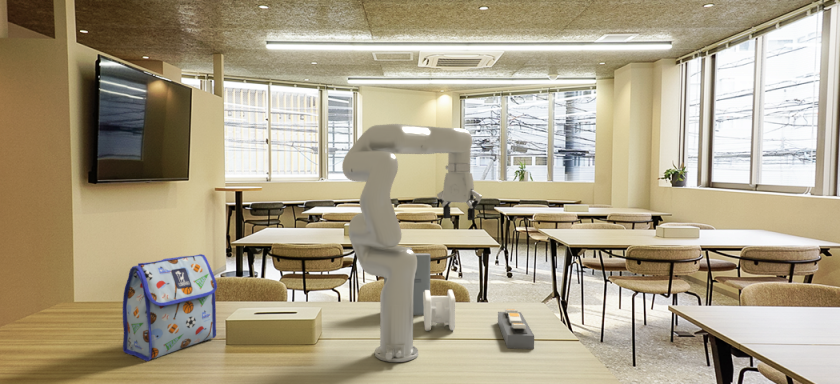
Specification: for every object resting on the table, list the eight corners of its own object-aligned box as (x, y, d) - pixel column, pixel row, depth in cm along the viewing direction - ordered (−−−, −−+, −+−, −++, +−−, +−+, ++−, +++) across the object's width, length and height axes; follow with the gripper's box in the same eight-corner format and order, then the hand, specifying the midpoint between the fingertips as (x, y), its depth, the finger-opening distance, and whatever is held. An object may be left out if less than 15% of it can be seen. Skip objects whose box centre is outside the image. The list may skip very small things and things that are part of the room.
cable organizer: (455, 333, 160) (456, 298, 159) (423, 333, 160) (423, 298, 159) (451, 320, 175) (452, 288, 174) (422, 320, 175) (423, 288, 174)
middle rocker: (521, 323, 157) (521, 320, 156) (510, 323, 157) (510, 320, 156) (519, 316, 161) (519, 313, 161) (508, 315, 162) (508, 312, 161)
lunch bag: (151, 365, 132) (150, 267, 131) (117, 353, 140) (116, 261, 139) (222, 340, 152) (222, 255, 151) (189, 331, 160) (188, 250, 159)
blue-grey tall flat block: (383, 314, 181) (383, 248, 180) (384, 311, 185) (384, 246, 184) (429, 315, 180) (430, 248, 179) (429, 311, 185) (430, 246, 184)
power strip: (534, 348, 147) (534, 333, 146) (507, 348, 147) (507, 333, 147) (516, 315, 181) (516, 303, 180) (494, 315, 181) (495, 303, 181)
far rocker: (517, 313, 164) (517, 310, 165) (506, 313, 165) (506, 310, 165) (515, 312, 169) (515, 309, 169) (505, 312, 169) (505, 309, 170)
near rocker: (525, 328, 148) (525, 324, 149) (514, 328, 149) (513, 324, 149) (523, 326, 153) (523, 323, 153) (511, 326, 153) (511, 323, 154)
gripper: (432, 168, 167) (431, 218, 168) (475, 168, 157) (475, 221, 157) (444, 169, 173) (443, 216, 174) (487, 169, 163) (486, 220, 163)
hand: (458, 219), depth 166 cm, fingers open, 9 cm apart
